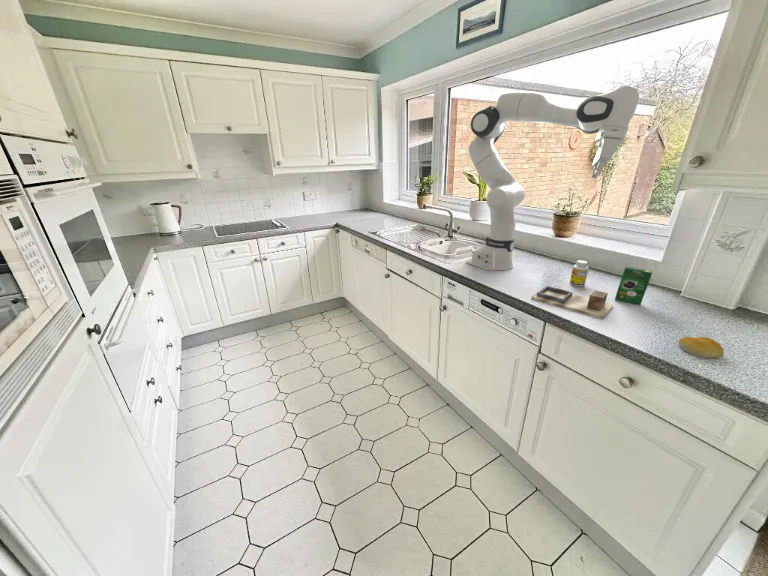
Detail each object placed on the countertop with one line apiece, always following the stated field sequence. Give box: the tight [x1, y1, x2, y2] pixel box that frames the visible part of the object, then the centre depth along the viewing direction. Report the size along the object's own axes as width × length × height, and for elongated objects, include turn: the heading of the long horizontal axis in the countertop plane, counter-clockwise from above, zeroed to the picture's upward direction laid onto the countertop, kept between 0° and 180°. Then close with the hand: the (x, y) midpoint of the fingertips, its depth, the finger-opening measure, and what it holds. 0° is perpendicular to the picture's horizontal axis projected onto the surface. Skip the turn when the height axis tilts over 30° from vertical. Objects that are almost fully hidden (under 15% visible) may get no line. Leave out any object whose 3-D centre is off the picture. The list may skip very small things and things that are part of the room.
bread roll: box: [678, 336, 725, 360], centre depth 88 cm, size 8×9×4 cm
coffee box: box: [614, 266, 653, 306], centre depth 116 cm, size 8×3×13 cm, turn 53°
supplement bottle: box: [569, 259, 589, 287], centre depth 133 cm, size 6×6×10 cm
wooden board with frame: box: [531, 285, 614, 320], centre depth 118 cm, size 24×13×6 cm, turn 45°
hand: (595, 176), depth 121 cm, fingers open, 8 cm apart
